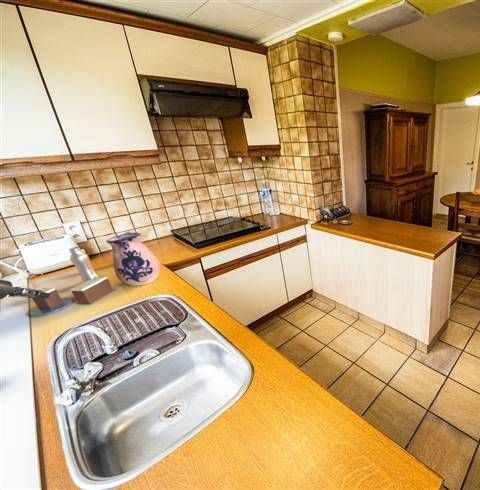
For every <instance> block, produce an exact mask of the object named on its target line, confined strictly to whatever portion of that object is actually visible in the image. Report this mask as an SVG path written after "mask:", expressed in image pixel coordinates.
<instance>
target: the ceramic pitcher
mask: <svg viewBox="0 0 480 490" xmlns="http://www.w3.org/2000/svg"><path fill="white" fill-rule="evenodd" d="M141 236H142V233H140V232H130V231H127V232H125V233H122V234H119V235H116V236H113V237H109V238H108V239H107V240H106V243H107V244H109V245H110V246H111V249H112V261H113V270H114V273H115V276H116V277H117V279H118V280H119V281H120V282H122V283H124V284H125V285H128V286H132V287H133V286H134V287H139V286H143V285H147V284H150V283H152V282H153V281H155V280H156V279H157V278H158V277H159V276H160V275H159V274H160V272H161V269H162V266H161V262H160V261H159V259H158V257H157V256H156V255H155V254H154V253H153V252H152V251H151V250H150V249H149V248H148V246H147V245H146V244H144V242H143V241H142V240H141Z"/></svg>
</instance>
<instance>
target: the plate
mask: <svg viewBox="0 0 480 490" xmlns="http://www.w3.org/2000/svg"><path fill="white" fill-rule="evenodd" d="M61 299H62V300H63V302H64V303H63V304H61V305H59V306H57V307H55V308H53V309H51V310H48V309H39V308H38V306H36V307H34V308H33V309H31V310H30V312H29V316H30V317H32V318H38V317H39V318H40V317H44V316H47V315H51V314H54V313H57V312H59V311H62V310H63V309H66V308H67V307H69V306H70V305H72V303H73V302H74V300H73V298H72V297H61Z"/></svg>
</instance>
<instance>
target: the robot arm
mask: <svg viewBox="0 0 480 490" xmlns="http://www.w3.org/2000/svg"><path fill="white" fill-rule="evenodd" d="M34 292H35V294H34ZM49 296H50V293H46V292H42V291H41V290H40V289H33V288H26V287H22V286H13V283H12V282H11V281H10V280H4V279H0V300H3V299H5V298H6V297H7V298H18V297H19V298H25V299H32V298H31V297H41V298H49Z"/></svg>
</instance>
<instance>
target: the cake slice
mask: <svg viewBox="0 0 480 490" xmlns="http://www.w3.org/2000/svg"><path fill="white" fill-rule="evenodd" d="M39 290H41V291H42V292H46V293H50V296H49V298H41V297H31V298H30V299H32V302H34V304H35V305H36V307H38V308H39V309H48V310H51V309H53V308H55V307H57V306H59V305H61V304H63V303H64V302H63V300H62V299H61V298H62V297H61V295H60V293H58V290H57V289H56V287H42V288H39ZM34 294H35V292H34Z"/></svg>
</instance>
